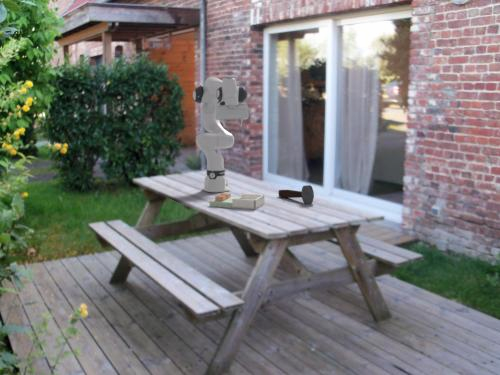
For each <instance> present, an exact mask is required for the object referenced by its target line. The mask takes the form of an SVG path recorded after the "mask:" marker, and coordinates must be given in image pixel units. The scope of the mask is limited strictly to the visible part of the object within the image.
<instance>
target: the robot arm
mask: <svg viewBox="0 0 500 375" xmlns="http://www.w3.org/2000/svg"><path fill="white" fill-rule="evenodd" d="M247 97H248V92H247V89H246V88H245V87H244V86H243V85H241V86H239V85H238V84H237V81H236V78H235V77H224V78H222V79H220V78H218V77H215V76H210V77H208V78H206V79H205V80H204V85H199V86H197V87H195V88H194V89H193V92H192V98H193V101H194V102H195V103H196V104H202V105H201V108H200V110H201V119H202V124H203V128H204V129H205V131H207V132H203V133H202V132H201V133H199V134H198V135H197V136H196V139H195V142H196V146H197V147H198V148H199V149H200V150H201V151H202V152H203V153H204V155H205V158H206V171H205V173H206V176H204V181H203V182H204V185H203V188H202V191H204V192H207V193H208V192H209V193H228V192H230V190H231V189H232V186H231V185H230V186H229V179H228V178H227V176H226V172H227V171H226V169H225V168H224V167H225V164H224V162H225V160H224V157H223V156H222V155H220V154H219V153H217V152H216V150H226V149H229V148H232V147H233V146H234V143H235V136H234V135H233V134H232V133H230V132H229V131H228V130H226V129H225V128H227V123H226V122H225V121H228V120H230V121H231V120H240V122H239V123H238V126H239V127H243V122H244V120H248V119H249V118H250V113H249V105H248V104H247V103H245V101H246V99H247ZM243 102H244V103H243ZM222 125H223V126H222Z"/></svg>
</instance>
